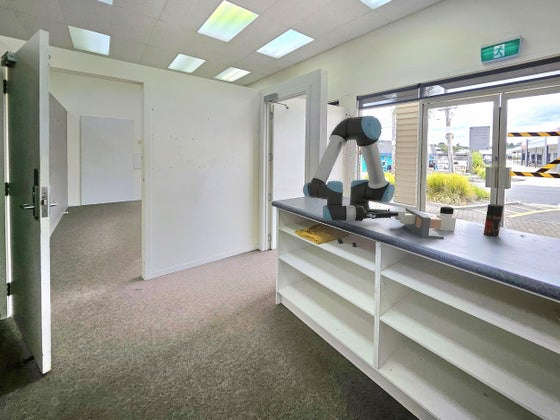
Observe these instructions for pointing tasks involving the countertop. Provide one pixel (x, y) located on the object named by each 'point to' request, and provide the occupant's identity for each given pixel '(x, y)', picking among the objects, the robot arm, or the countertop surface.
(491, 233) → the deodorant
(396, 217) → the sage key
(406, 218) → the cream key
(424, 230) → the grey slotted block
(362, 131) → the robot arm
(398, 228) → the countertop surface
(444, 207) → the medicine bottle
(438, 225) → the terracotta key
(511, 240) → the countertop surface
